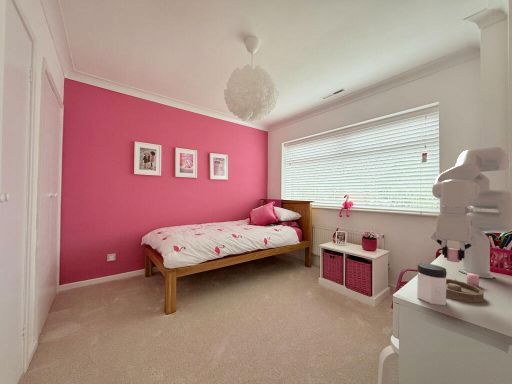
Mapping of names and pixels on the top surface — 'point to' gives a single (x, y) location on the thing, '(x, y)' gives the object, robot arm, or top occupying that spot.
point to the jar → (431, 283)
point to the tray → (463, 291)
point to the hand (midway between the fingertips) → (453, 258)
